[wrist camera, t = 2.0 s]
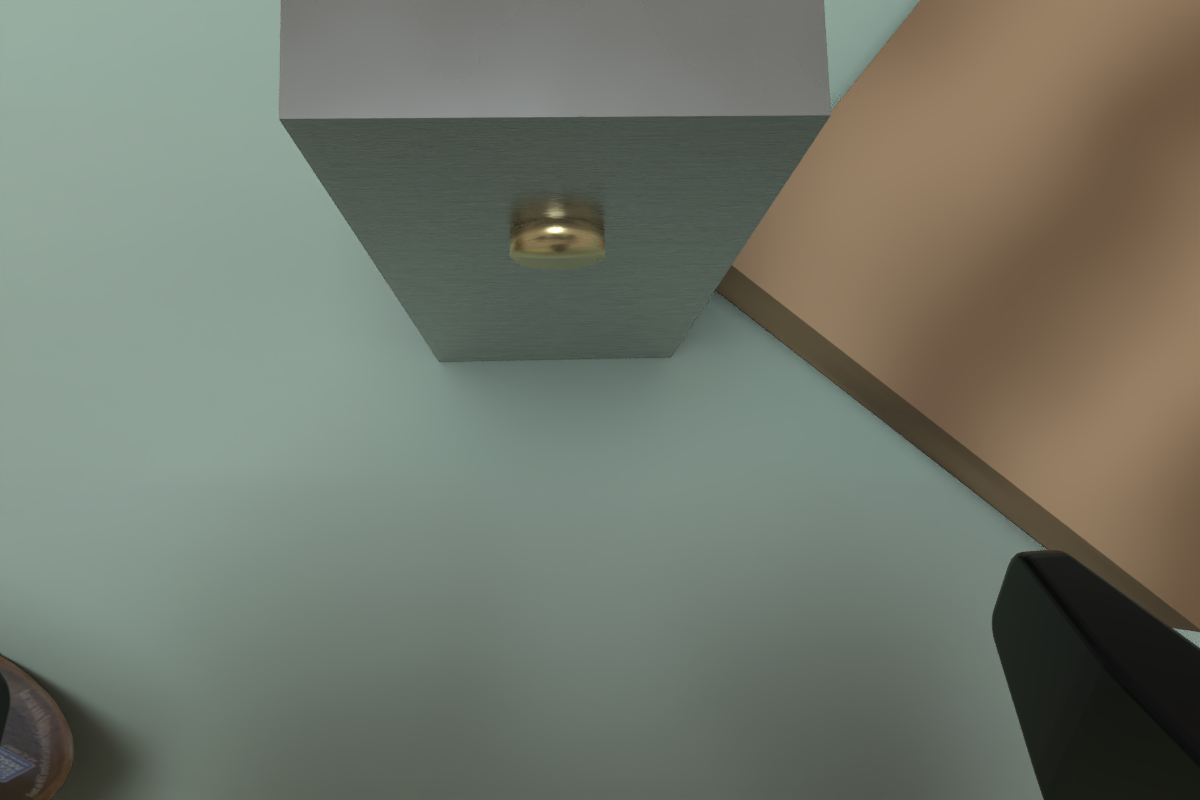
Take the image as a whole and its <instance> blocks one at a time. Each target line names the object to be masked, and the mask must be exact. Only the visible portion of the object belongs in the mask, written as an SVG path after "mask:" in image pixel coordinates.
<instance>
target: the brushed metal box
mask: <svg viewBox="0 0 1200 800" xmlns="http://www.w3.org/2000/svg"><path fill="white" fill-rule="evenodd" d="M830 116H831V108H830V92H829V76H828V60H827V44H826V28H825V12H824V0H281V29H280V89H279V120H280V121H281V123H282V124H283V126H284V127H285V129H286V130H287V132H288V133H289V135H290V136H291V138H292V139H293V141H294V142H295V144H296V145H297V147H298V148H299V150H300V151H301V153H302V154H303V156H304V158H305V159H306V161H307V162H308V164H309V165H310V167H311V168H312V170H313V171H314V173H315V174H316V176H317V177H318V179H319V180H320V182H321V183H322V185H323V186H324V188H325V189H326V191H327V192H328V194H329V195H330V197H331V198H332V200H333V201H334V203H335V205H336V206H337V208H338V209H339V211H340V212H341V214H342V215H343V217H344V218H345V220H346V221H347V223H348V224H349V226H350V227H351V229H352V230H353V232H354V233H355V235H356V236H357V238H358V239H359V241H360V242H361V244H362V245H363V247H364V248H365V250H366V251H367V253H368V255H369V256H370V258H371V259H372V261H373V262H374V264H375V265H376V267H377V268H378V270H379V271H380V273H381V274H382V276H383V277H384V279H385V280H386V282H387V283H388V285H389V286H390V288H391V289H392V291H393V292H394V294H395V295H396V297H397V298H398V300H399V302H400V303H401V305H402V306H403V308H404V309H405V311H406V312H407V314H408V315H409V317H410V318H411V320H412V321H413V323H414V324H415V326H416V327H417V329H418V330H419V332H420V333H421V335H422V336H423V338H424V339H425V341H426V342H427V344H428V345H429V347H430V348H431V350H432V352H433V353H434V355H435V356H436V358H437V359H438V361H439V362H455V361H508V360H560V359H612V358H665V357H671V356H672V354H673V353H674V351H675V350H676V348H677V347H678V345H679V344H680V342H681V341H682V339H683V338H684V336H685V335H686V333H687V332H688V330H689V329H690V327H691V326H692V324H693V323H694V321H695V320H696V318H697V317H698V315H699V313H700V312H701V310H702V309H703V307H704V306H705V304H706V303H707V301H708V300H709V298H710V297H711V295H712V294H713V292H714V291H715V289H716V288H717V286H718V285H719V283H720V282H721V280H722V279H723V277H724V276H725V274H726V273H727V271H728V270H729V268H730V267H731V265H732V264H733V262H734V261H735V259H736V258H737V256H738V255H739V253H740V252H741V250H742V249H743V247H744V246H745V244H746V243H747V241H748V240H749V238H750V237H751V235H752V234H753V232H754V231H755V229H756V228H757V226H758V224H759V223H760V221H761V220H762V218H763V217H764V215H765V214H766V212H767V211H768V209H769V208H770V206H771V205H772V203H773V202H774V200H775V199H776V197H777V196H778V194H779V193H780V191H781V190H782V188H783V187H784V185H785V184H786V182H787V181H788V179H789V178H790V176H791V175H792V173H793V172H794V170H795V169H796V167H797V166H798V164H799V163H800V161H801V160H802V158H803V157H804V155H805V154H806V152H807V151H808V149H809V148H810V146H811V145H812V143H813V142H814V140H815V138H816V137H817V135H818V134H819V132H820V131H821V129H822V128H823V126H824V125H825V123H826V122H827V120H828V119H829V117H830Z"/></svg>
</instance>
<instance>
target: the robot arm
mask: <svg viewBox="0 0 1200 800" xmlns="http://www.w3.org/2000/svg"><path fill="white" fill-rule="evenodd" d="M992 631H993V637H994V641H995V644H996V647H997V651H998V654H999V657H1000V660H1001V664H1002V667H1003V670H1004V674H1005V677H1006V680H1007V683H1008V687H1009V690H1010V693H1011V697H1012V700H1013V703H1014V706H1015V710H1016V713H1017V716H1018V719H1019V723H1020V726H1021V729H1022V733H1023V736H1024V739H1025V742H1026V746H1027V749H1028V752H1029V755H1030V759H1031V762H1032V765H1033V769H1034V772H1035V775H1036V778H1037V781H1038V784H1039V787H1040V790H1041V793H1042V796H1043V799H1044V800H1200V648H1199V647H1198V646H1196V645H1195V644H1193V643H1192V642H1191V641H1189V640H1188V639H1187V638H1185V637H1184V636H1182V635H1181V634H1180V633H1178V632H1177V631H1175V630H1174V629H1173V628H1171V627H1170V626H1169V625H1167V624H1166V623H1164V622H1163V621H1162V620H1160V619H1159V618H1157V617H1156V616H1155V615H1153V614H1152V613H1150V612H1149V611H1148V610H1146V609H1145V608H1144V607H1142V606H1141V605H1139V604H1138V603H1137V602H1135V601H1134V600H1132V599H1131V598H1130V597H1128V596H1127V595H1125V594H1124V593H1123V592H1121V591H1120V590H1119V589H1117V588H1116V587H1114V586H1113V585H1112V584H1110V583H1109V582H1107V581H1106V580H1105V579H1103V578H1102V577H1100V576H1099V575H1098V574H1096V573H1095V572H1094V571H1092V570H1091V569H1089V568H1088V567H1087V566H1085V565H1084V564H1082V563H1081V562H1080V561H1078V560H1077V559H1076V558H1074V557H1073V556H1071V555H1069V554H1068V553H1066V552H1063V551H1060V550H1043V551H1028V552H1021V553H1017V554H1016V555H1015V556H1014V557H1013V558H1012V559H1011V561H1010V563H1009V565H1008V568H1007V571H1006V574H1005V577H1004V580H1003V583H1002V586H1001V589H1000V592H999V595H998V598H997V601H996V604H995V607H994V611H993V615H992ZM10 700H11V699H10V690H9V686H8V683H7V681H6V679H5V677H4V675H3V674H2V672H1V670H0V748H1V744H2V740H3V736H4V732H5V728H6V723H7V719H8V715H9V710H10Z"/></svg>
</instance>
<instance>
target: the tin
mask: <svg viewBox="0 0 1200 800" xmlns="http://www.w3.org/2000/svg"><path fill="white" fill-rule="evenodd" d="M0 670H1V672H2V674H3V675H4V677H5V679H6V681H7V683H8V686H9V690H10V699H11V700H10V710H9V715H8V719H7V723H6V728H5V732H4V736H3V740H2V744H1V748H0V800H49V799H50V798H51V797H52V796H53V795H54V794H55V793H56V792H57V791H58V790H59V789H60V787H61V786H62V785H63V784H64V782H65V780H66V778H67V777H68V775H69V772H70V769H71V767H72V764H73V758H74V742H73V736H72V733H71V730H70V727H69V725H68V723H67V721H66V719H65V717H64V715H63V713H62V711H61V710H60V708H59V706H58V705H57V703H56V702H55V700H54V699H53V698H52V697H51V696H50V695H49V694H48V693H47V691H46V690H44V689H43V688H42V687H41V686H40V685H39V684H38V683H37V682H36V681H35V680H34V679H33V678H32V677H30V676H29V675H28V674H27V673H25V672H24V671H23V670H21V669H20V668H19V667H17V666H16V665H15V664H13V663H12V662H11V661H9V660H7V659H5V658H4V657H2V656H1V655H0Z"/></svg>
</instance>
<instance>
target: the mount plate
mask: <svg viewBox="0 0 1200 800" xmlns="http://www.w3.org/2000/svg"><path fill="white" fill-rule="evenodd" d="M715 290H716V291H717V292H719V293H720V294H721V295H723V296H724V297H725V298H726V299H728V300H729V301H730V302H732V303H733V304H734V305H735V306H737V307H738V308H739V309H741V310H742V311H743V312H744V313H746V314H747V315H748V316H750V317H751V318H752V319H753V320H755V321H756V322H757V323H758V324H760V325H761V326H762V327H764V328H765V329H766V330H767V331H769V332H770V333H771V334H773V335H774V336H775V337H776V338H778V339H779V340H780V341H782V342H783V343H784V344H785V345H787V346H788V347H789V348H791V349H792V350H793V351H794V352H796V353H797V354H798V355H799V356H801V357H802V358H803V359H805V360H806V361H807V362H808V363H810V364H811V365H812V366H814V367H815V368H816V369H817V370H819V371H820V372H821V373H823V374H824V375H825V376H826V377H828V378H829V379H830V380H832V381H833V382H834V383H835V384H837V385H838V386H839V387H841V388H842V389H843V390H844V391H846V392H847V393H848V394H849V395H851V396H852V397H853V398H855V399H856V400H857V401H858V402H860V403H861V404H862V405H864V406H865V407H866V408H867V409H869V410H870V411H871V412H873V413H874V414H875V415H876V416H878V417H879V418H880V419H882V420H883V421H884V422H885V423H887V424H888V425H889V426H890V427H892V428H893V429H894V430H896V431H897V432H898V433H899V434H901V435H902V436H903V437H905V438H906V439H907V440H908V441H910V442H911V443H912V444H914V445H915V446H916V447H917V448H919V449H920V450H921V451H923V452H924V453H925V454H926V455H928V456H929V457H930V458H932V459H933V460H934V461H935V462H937V463H938V464H939V465H940V466H942V467H943V468H944V469H946V470H947V471H948V472H949V473H951V474H952V475H953V476H955V477H956V478H957V479H958V480H960V481H961V482H962V483H964V484H965V485H966V486H967V487H969V488H970V489H971V490H973V491H974V492H975V493H976V494H978V495H979V496H980V497H981V498H983V499H984V500H985V501H987V502H988V503H989V504H990V505H992V506H993V507H994V508H996V509H997V510H998V511H999V512H1001V513H1002V514H1003V515H1005V516H1006V517H1007V518H1008V519H1010V520H1011V521H1012V522H1014V523H1015V524H1016V525H1017V526H1019V527H1020V528H1021V529H1023V530H1024V531H1025V532H1026V533H1028V534H1029V535H1030V536H1031V537H1033V538H1034V539H1035V540H1037V541H1038V542H1039V543H1040V544H1042V545H1043V546H1044V547H1046V548H1047V549H1048V550H1060V551H1063V552H1066V553H1068V554H1069V555H1071V556H1073V557H1074V558H1076V559H1077V560H1078V561H1080V562H1081V563H1082V564H1084V565H1085V566H1087V567H1088V568H1089V569H1091V570H1092V571H1094V572H1095V573H1096V574H1098V575H1099V576H1100V577H1102V578H1103V579H1105V580H1106V581H1107V582H1109V583H1110V584H1112V585H1113V586H1114V587H1116V588H1117V589H1119V590H1120V591H1121V592H1123V593H1124V594H1125V595H1127V596H1128V597H1130V598H1131V599H1132V600H1134V601H1135V602H1137V603H1138V604H1139V605H1141V606H1142V607H1144V608H1145V609H1146V610H1148V611H1149V612H1150V613H1152V614H1153V615H1155V616H1156V617H1157V618H1159V619H1160V620H1162V621H1163V622H1164V623H1166V624H1167V625H1169V626H1170V627H1171V628H1176V629H1183V630H1190V631H1196V632H1200V0H921V1H920V2H919V3H918V4H917V6H916V7H915V8H914V9H913V11H912V12H911V13H910V14H909V16H908V17H907V18H906V19H905V21H904V22H903V23H902V24H901V26H900V27H899V28H898V29H897V31H896V32H895V33H894V34H893V35H892V37H891V38H890V39H889V40H888V42H887V43H886V44H885V45H884V47H883V48H882V49H881V50H880V52H879V53H878V54H877V55H876V57H875V58H874V59H873V60H872V62H871V63H870V64H869V65H868V67H867V68H866V69H865V70H864V72H863V73H862V74H861V75H860V77H859V78H858V79H857V80H856V82H855V83H854V84H853V85H852V87H851V88H850V89H849V90H848V92H847V93H846V94H845V95H844V96H843V98H842V99H841V100H840V101H839V103H838V104H837V105H836V106H835V108H834V109H833V110H832V111H831V116H830V117H829V119H828V120H827V122H826V123H825V125H824V126H823V128H822V129H821V131H820V132H819V134H818V135H817V137H816V138H815V140H814V142H813V143H812V145H811V146H810V148H809V149H808V151H807V152H806V154H805V155H804V157H803V158H802V160H801V161H800V163H799V164H798V166H797V167H796V169H795V170H794V172H793V173H792V175H791V176H790V178H789V179H788V181H787V182H786V184H785V185H784V187H783V188H782V190H781V191H780V193H779V194H778V196H777V197H776V199H775V200H774V202H773V203H772V205H771V206H770V208H769V209H768V211H767V212H766V214H765V215H764V217H763V218H762V220H761V221H760V223H759V224H758V226H757V228H756V229H755V231H754V232H753V234H752V235H751V237H750V238H749V240H748V241H747V243H746V244H745V246H744V247H743V249H742V250H741V252H740V253H739V255H738V256H737V258H736V259H735V261H734V262H733V264H732V265H731V267H730V268H729V270H728V271H727V273H726V274H725V276H724V277H723V279H722V280H721V282H720V283H719V285H718V286H717V288H716V289H715Z"/></svg>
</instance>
